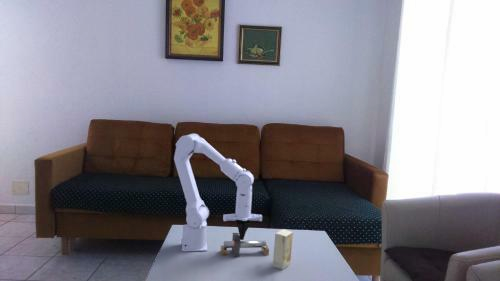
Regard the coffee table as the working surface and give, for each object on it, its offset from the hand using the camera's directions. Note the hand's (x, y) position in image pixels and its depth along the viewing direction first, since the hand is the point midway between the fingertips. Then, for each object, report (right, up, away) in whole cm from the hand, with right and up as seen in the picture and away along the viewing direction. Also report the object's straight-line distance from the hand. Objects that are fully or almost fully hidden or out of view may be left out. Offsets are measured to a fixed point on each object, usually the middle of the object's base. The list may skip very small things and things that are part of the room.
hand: (241, 238), depth 132 cm
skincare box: (+15, -8, -7) cm, 18 cm away
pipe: (+1, -6, +1) cm, 6 cm away
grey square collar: (-2, -6, 0) cm, 6 cm away
